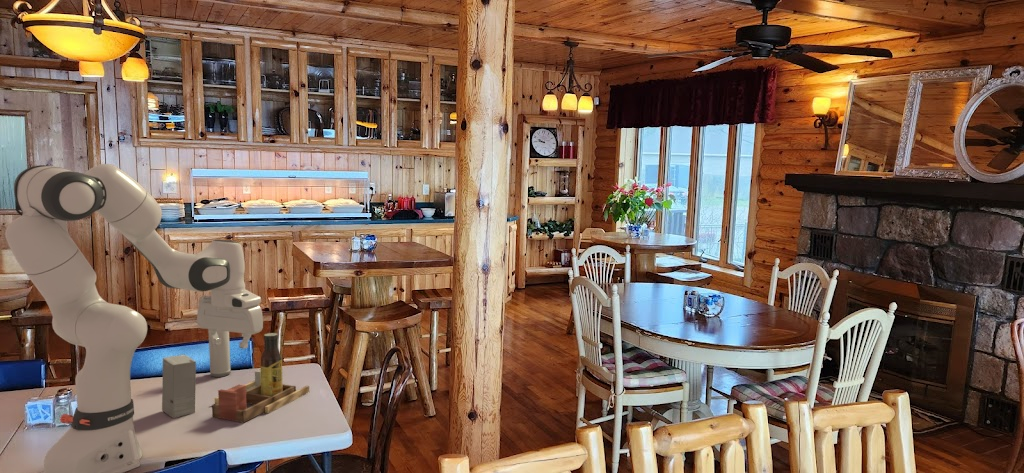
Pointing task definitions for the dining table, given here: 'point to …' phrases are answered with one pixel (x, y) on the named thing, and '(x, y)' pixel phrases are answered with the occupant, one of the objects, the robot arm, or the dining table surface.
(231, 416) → the wooden condiment caddy
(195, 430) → the dining table surface
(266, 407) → the oak lane rails
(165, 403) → the skincare box
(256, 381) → the broken grey strip
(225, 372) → the travel mug
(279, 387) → the sauce bottle
